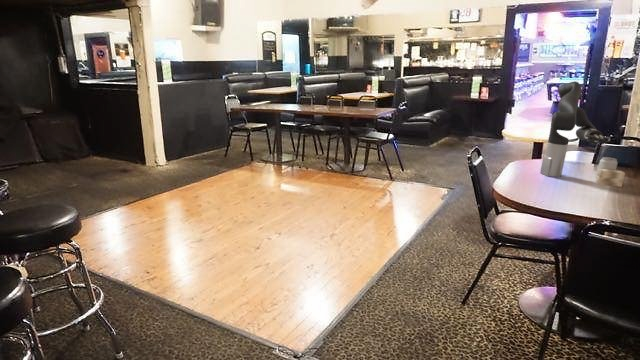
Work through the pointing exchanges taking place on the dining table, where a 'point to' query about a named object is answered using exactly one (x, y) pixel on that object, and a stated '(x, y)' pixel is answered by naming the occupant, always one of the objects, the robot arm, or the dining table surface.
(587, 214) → the dining table surface
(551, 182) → the dining table surface
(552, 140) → the robot arm
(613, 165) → the can
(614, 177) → the block
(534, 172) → the dining table surface
